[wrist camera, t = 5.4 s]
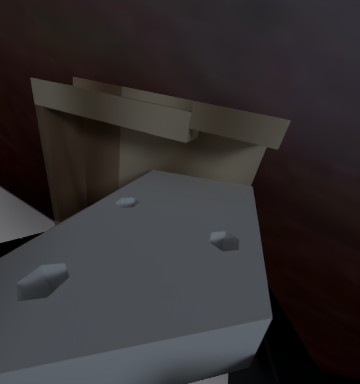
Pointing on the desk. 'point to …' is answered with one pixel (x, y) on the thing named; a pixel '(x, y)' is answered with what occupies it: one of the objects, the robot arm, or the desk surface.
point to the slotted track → (140, 140)
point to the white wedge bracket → (138, 288)
